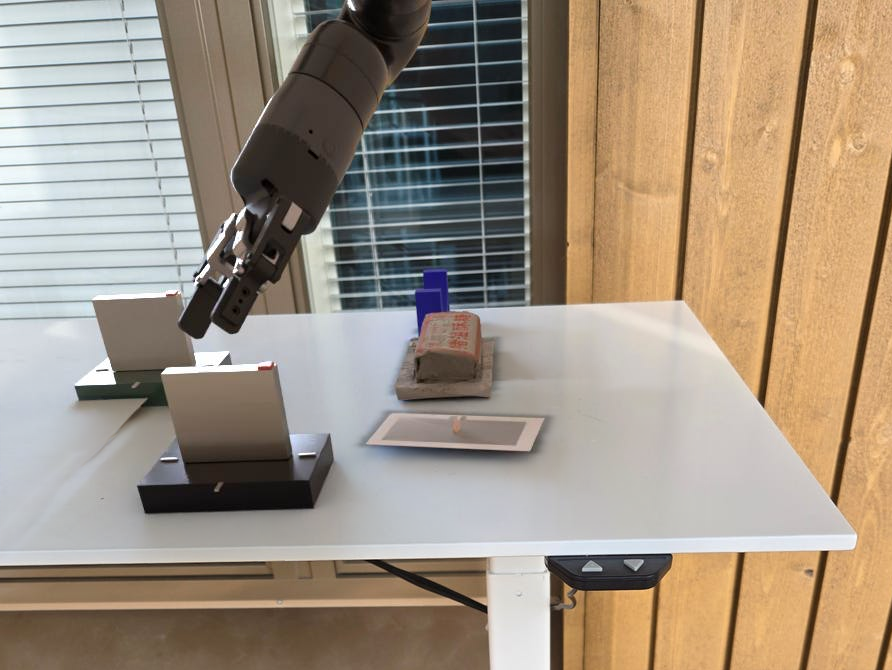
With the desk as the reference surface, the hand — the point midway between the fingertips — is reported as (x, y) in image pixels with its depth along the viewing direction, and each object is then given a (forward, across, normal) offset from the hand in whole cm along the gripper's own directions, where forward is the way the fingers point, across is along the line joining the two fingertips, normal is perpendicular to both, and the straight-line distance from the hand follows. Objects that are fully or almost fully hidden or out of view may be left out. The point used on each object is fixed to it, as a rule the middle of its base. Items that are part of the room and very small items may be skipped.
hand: (204, 331), depth 70 cm
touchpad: (-4, +3, +23) cm, 24 cm away
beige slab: (0, -30, +4) cm, 30 cm away
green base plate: (+1, -31, +6) cm, 31 cm away
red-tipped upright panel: (+7, -1, +7) cm, 10 cm away
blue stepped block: (-24, -28, +32) cm, 49 cm away
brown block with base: (-14, -13, +28) cm, 34 cm away
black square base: (+9, -1, +9) cm, 13 cm away
